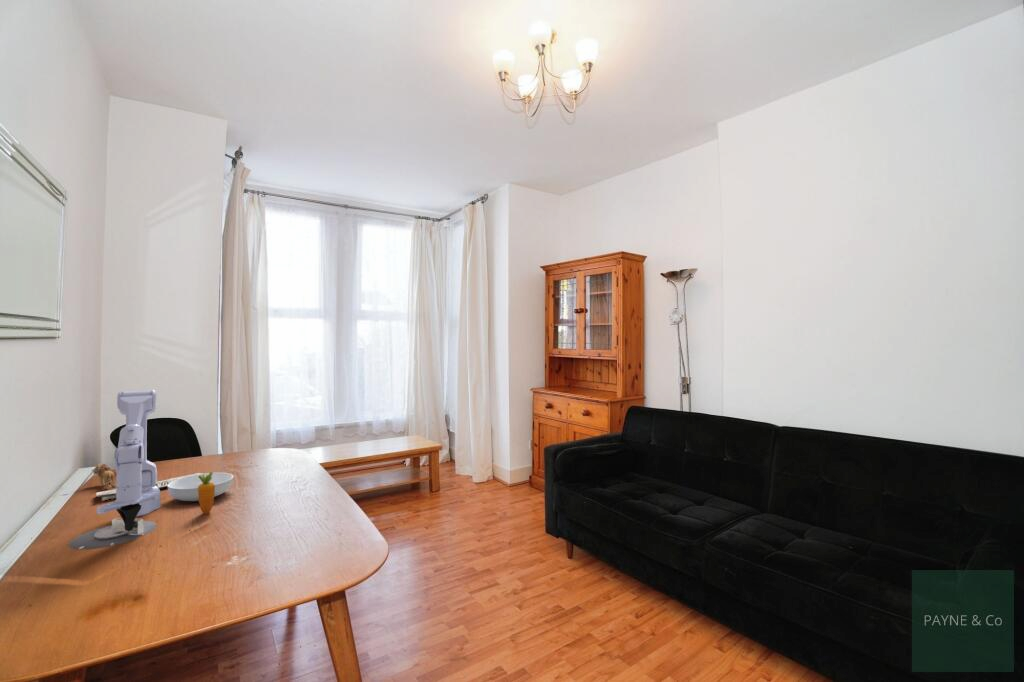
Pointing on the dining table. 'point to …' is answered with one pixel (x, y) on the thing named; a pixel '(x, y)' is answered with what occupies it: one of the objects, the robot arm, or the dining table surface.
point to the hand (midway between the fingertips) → (128, 530)
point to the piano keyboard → (160, 484)
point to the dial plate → (89, 540)
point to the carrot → (206, 493)
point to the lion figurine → (105, 475)
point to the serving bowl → (189, 485)
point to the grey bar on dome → (118, 530)
